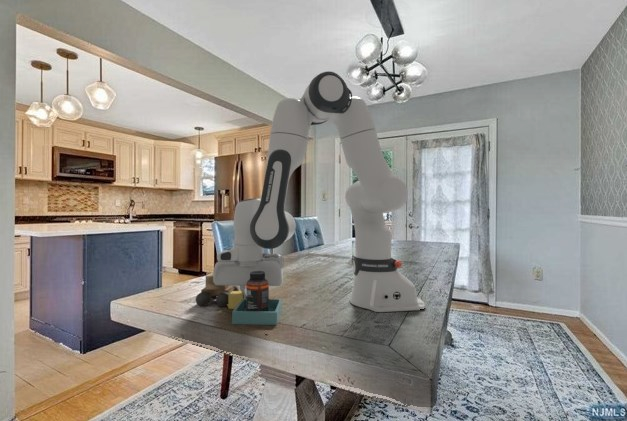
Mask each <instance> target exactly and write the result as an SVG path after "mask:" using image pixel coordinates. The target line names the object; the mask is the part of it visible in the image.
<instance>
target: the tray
mask: <svg viewBox="0 0 627 421" xmlns="http://www.w3.org/2000/svg"><path fill="white" fill-rule="evenodd" d="M282 311H283V299H282V298H269V311H246V299H242V300H241V302H240V303H239V304H238V305H237V306H236V308H235V309H232V312H231V325H258V326H259V325H261V326H262V325H263V326H264V325H267V326H268V325H270V326H274V325H275V326H278V323H279V320H280V317H281V314H282Z"/></svg>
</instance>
